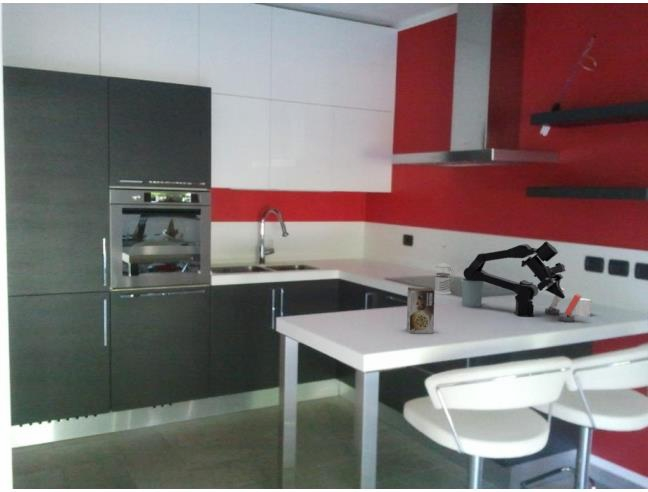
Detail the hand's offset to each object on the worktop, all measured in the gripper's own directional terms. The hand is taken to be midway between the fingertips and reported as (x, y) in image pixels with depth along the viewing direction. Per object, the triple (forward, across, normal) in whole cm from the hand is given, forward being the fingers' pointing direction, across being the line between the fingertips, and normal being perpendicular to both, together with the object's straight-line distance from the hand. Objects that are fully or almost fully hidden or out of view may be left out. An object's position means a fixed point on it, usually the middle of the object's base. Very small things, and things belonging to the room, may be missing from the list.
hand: (564, 298), depth 248 cm
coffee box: (-18, -58, +33) cm, 69 cm away
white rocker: (0, +12, +10) cm, 16 cm away
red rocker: (+6, 0, +4) cm, 8 cm away
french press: (-40, +31, +55) cm, 75 cm away
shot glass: (+9, +19, +4) cm, 21 cm away
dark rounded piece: (+8, 0, +6) cm, 10 cm away
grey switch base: (+2, +12, +12) cm, 17 cm away
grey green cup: (-23, +6, +37) cm, 44 cm away
